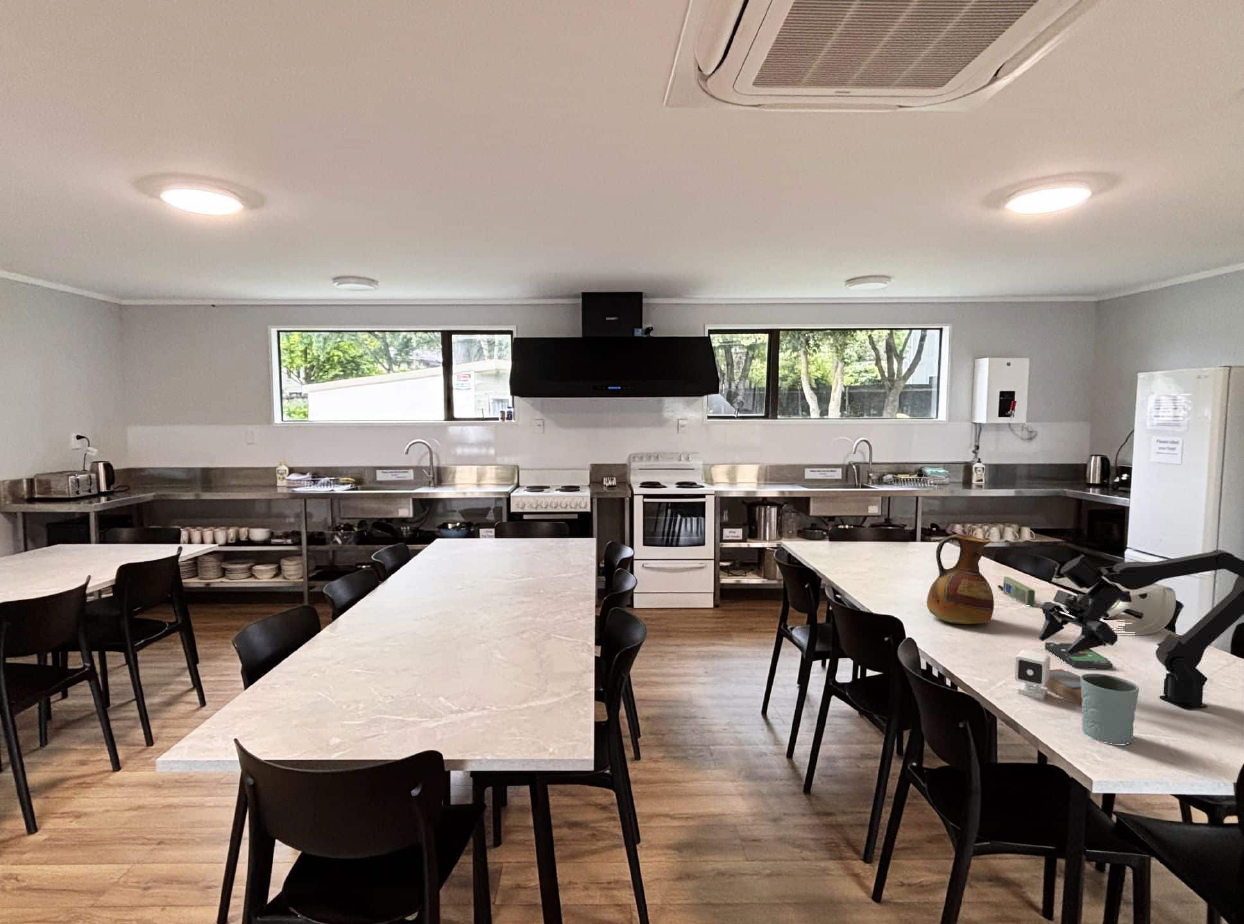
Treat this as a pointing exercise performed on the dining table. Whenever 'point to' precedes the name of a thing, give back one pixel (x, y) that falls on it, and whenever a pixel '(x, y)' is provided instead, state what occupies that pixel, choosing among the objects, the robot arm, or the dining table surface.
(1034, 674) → the security camera
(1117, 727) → the green plant pot
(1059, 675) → the walnut stand
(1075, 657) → the disk drive
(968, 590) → the ceramic pitcher
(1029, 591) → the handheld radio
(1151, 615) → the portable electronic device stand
